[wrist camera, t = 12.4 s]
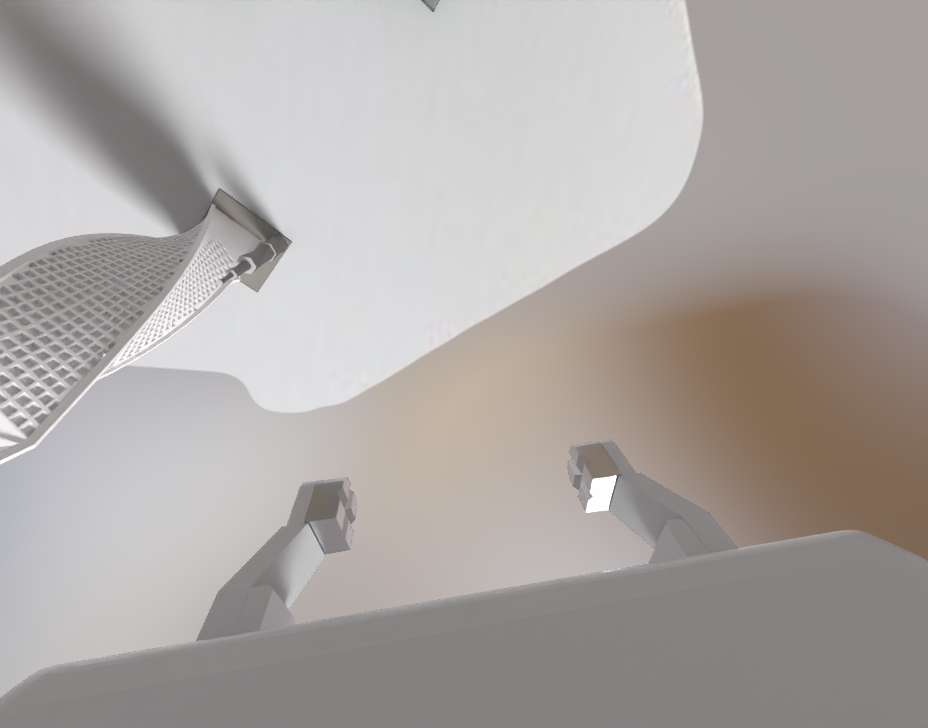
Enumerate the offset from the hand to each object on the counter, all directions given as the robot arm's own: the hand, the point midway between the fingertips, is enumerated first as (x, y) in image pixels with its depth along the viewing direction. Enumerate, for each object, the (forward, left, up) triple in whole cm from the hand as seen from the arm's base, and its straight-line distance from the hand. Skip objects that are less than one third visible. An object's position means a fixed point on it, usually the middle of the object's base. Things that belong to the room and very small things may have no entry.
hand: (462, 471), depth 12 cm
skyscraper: (-17, -10, -30) cm, 36 cm away
